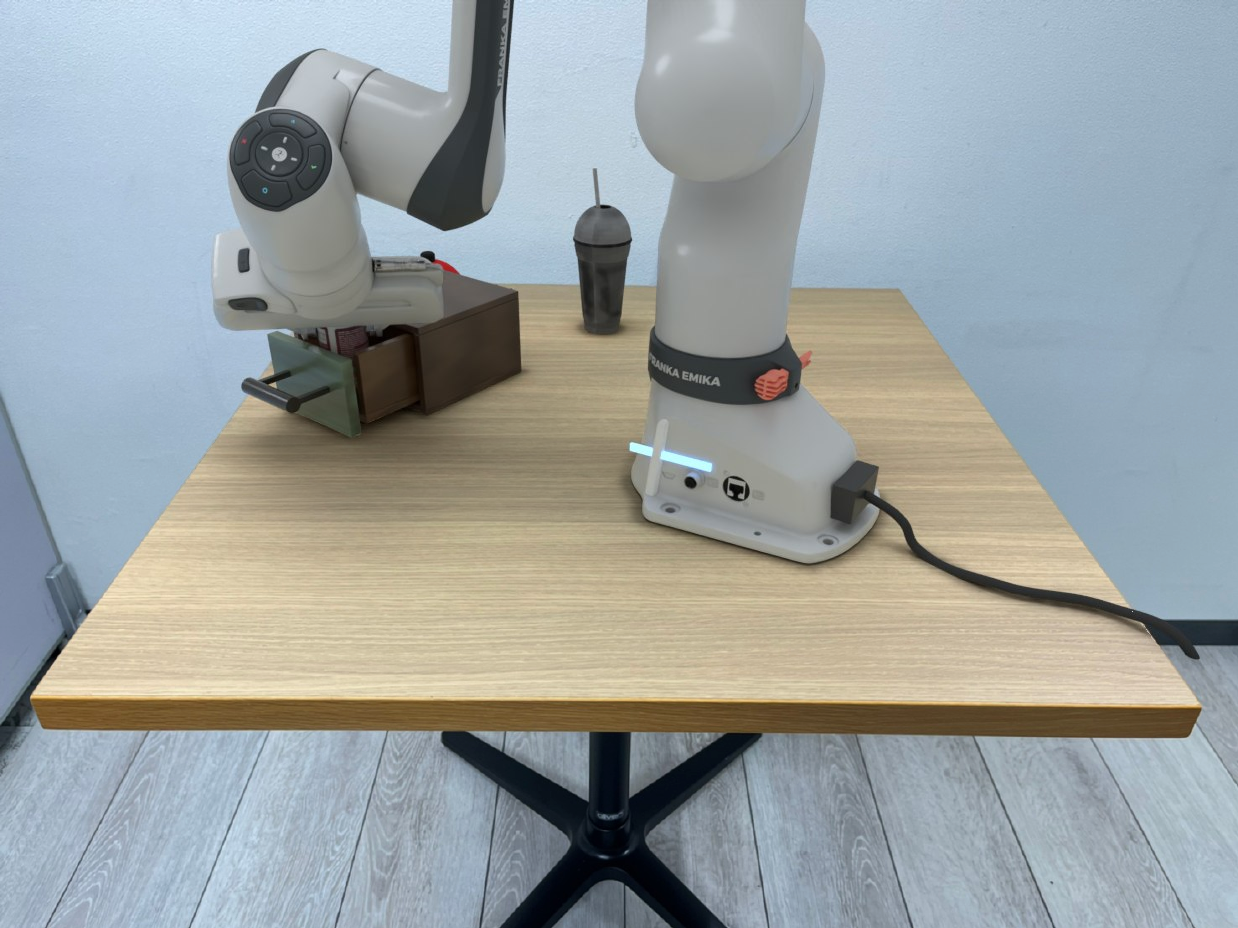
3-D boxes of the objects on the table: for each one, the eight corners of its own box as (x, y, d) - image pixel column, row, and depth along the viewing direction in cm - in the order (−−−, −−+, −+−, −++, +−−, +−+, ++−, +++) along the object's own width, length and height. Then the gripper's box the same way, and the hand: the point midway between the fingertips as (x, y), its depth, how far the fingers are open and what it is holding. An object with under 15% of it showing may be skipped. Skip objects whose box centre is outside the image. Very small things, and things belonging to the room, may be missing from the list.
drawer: (308, 457, 84) (295, 380, 80) (236, 422, 90) (220, 349, 86) (453, 391, 97) (448, 322, 93) (382, 364, 103) (374, 298, 99)
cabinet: (426, 415, 94) (418, 328, 89) (347, 383, 101) (336, 300, 96) (521, 371, 104) (518, 290, 100) (444, 345, 111) (438, 268, 106)
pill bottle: (378, 366, 94) (370, 288, 90) (362, 385, 90) (352, 304, 86) (334, 363, 95) (323, 285, 90) (316, 382, 90) (304, 301, 86)
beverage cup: (641, 331, 116) (646, 169, 106) (593, 342, 112) (594, 176, 103) (609, 314, 121) (611, 159, 111) (562, 324, 118) (560, 165, 108)
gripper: (441, 228, 80) (447, 298, 93) (194, 234, 77) (236, 306, 90) (445, 294, 78) (450, 355, 92) (193, 303, 75) (236, 365, 88)
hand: (343, 331), depth 91 cm, fingers closed on pill bottle, 5 cm apart
